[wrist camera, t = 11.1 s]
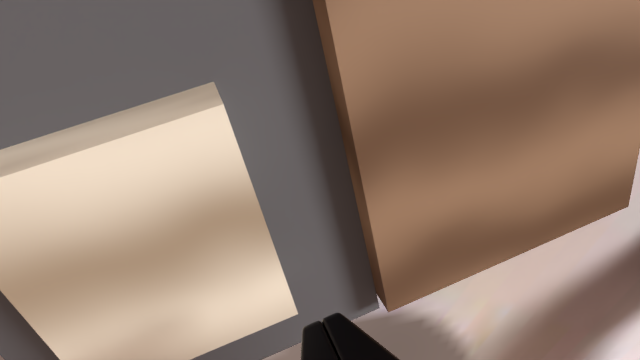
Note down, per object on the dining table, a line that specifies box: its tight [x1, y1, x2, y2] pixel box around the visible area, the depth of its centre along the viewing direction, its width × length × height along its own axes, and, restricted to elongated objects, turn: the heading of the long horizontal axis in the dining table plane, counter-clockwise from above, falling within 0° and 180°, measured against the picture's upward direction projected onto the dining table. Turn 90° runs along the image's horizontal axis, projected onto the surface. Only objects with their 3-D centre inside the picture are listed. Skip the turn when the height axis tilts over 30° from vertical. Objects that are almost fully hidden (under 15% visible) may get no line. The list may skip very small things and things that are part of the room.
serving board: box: [313, 0, 640, 312], centre depth 16 cm, size 14×12×2 cm
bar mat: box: [0, 0, 379, 360], centre depth 15 cm, size 16×13×1 cm
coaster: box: [0, 82, 298, 360], centre depth 14 cm, size 8×7×2 cm
